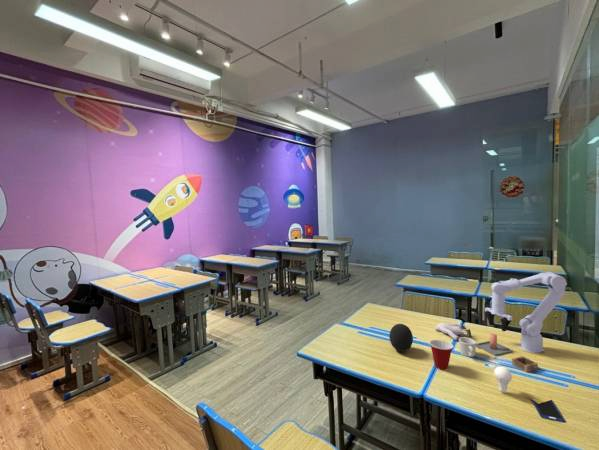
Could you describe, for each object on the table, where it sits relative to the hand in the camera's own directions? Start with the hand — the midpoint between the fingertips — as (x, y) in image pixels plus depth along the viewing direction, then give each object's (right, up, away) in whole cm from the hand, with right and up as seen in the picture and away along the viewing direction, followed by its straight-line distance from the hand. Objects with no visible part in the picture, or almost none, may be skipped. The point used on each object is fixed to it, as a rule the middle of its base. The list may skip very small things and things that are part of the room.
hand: (497, 328), depth 156 cm
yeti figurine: (-15, -11, +18) cm, 26 cm away
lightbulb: (-24, -14, -37) cm, 46 cm away
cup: (-22, -12, -9) cm, 26 cm away
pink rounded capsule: (-5, -10, -3) cm, 11 cm away
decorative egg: (-54, -13, 0) cm, 55 cm away
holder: (-2, -12, -21) cm, 24 cm away
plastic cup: (-40, -13, -17) cm, 45 cm away
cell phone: (-14, -15, -47) cm, 51 cm away
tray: (-4, -11, -3) cm, 12 cm away
